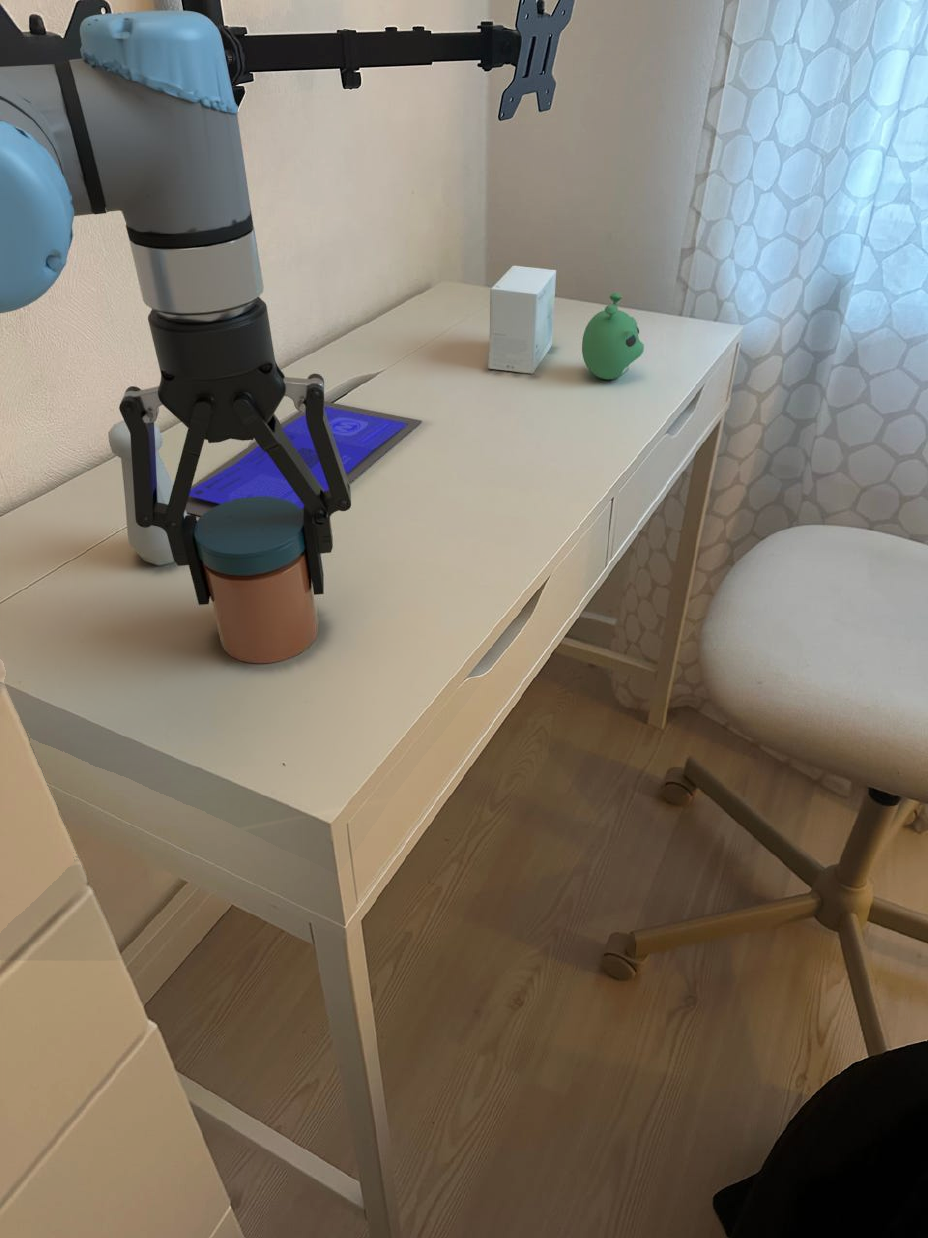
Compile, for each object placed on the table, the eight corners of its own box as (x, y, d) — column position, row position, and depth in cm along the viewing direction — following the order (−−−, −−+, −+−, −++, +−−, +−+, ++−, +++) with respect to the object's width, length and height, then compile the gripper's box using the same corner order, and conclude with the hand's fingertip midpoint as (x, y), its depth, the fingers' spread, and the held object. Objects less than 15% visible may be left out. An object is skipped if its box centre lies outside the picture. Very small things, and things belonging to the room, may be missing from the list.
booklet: (408, 423, 104) (408, 417, 104) (285, 526, 86) (284, 520, 86) (319, 405, 108) (318, 400, 108) (184, 500, 91) (183, 494, 90)
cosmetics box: (535, 375, 115) (538, 292, 109) (487, 369, 117) (487, 288, 110) (554, 346, 123) (557, 267, 117) (509, 341, 125) (510, 263, 118)
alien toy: (637, 391, 111) (645, 310, 105) (575, 385, 112) (580, 305, 106) (643, 369, 116) (651, 291, 110) (584, 364, 118) (589, 287, 112)
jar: (222, 671, 70) (198, 570, 64) (219, 612, 76) (196, 514, 70) (324, 654, 71) (309, 553, 66) (313, 597, 78) (298, 500, 72)
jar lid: (181, 538, 69) (176, 517, 68) (278, 505, 73) (274, 485, 72) (224, 588, 64) (220, 566, 63) (326, 550, 68) (324, 529, 66)
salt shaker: (209, 541, 85) (180, 413, 77) (178, 574, 81) (144, 443, 73) (154, 533, 86) (120, 407, 78) (121, 565, 82) (81, 435, 74)
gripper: (368, 274, 61) (391, 552, 75) (51, 293, 59) (135, 574, 73) (372, 311, 55) (397, 605, 69) (20, 333, 53) (118, 630, 67)
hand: (262, 589), depth 71 cm, fingers closed on jar lid, 8 cm apart
